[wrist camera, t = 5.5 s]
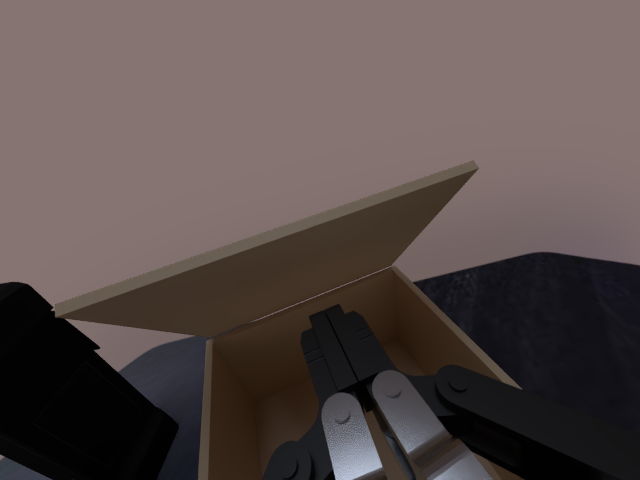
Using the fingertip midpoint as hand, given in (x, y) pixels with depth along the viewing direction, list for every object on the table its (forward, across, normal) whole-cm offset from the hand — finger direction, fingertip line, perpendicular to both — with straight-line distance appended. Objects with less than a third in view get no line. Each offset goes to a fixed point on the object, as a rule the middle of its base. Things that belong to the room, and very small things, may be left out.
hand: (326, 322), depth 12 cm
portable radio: (+11, +22, +21) cm, 32 cm away
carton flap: (+6, 0, +2) cm, 7 cm away
